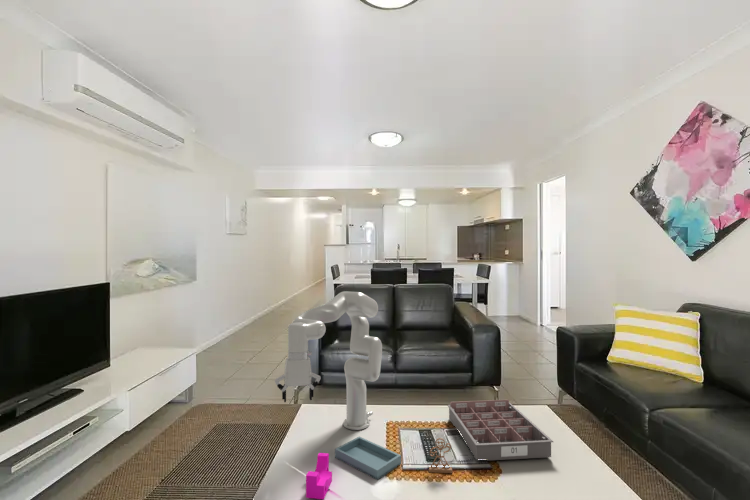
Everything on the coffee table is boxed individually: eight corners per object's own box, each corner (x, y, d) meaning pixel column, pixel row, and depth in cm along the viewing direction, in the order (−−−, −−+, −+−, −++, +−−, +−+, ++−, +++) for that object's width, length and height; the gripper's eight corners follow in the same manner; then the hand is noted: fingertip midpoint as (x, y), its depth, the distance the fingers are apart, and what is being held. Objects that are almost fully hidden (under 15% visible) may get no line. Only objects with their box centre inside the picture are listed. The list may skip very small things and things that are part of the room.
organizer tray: (475, 465, 150) (475, 440, 150) (447, 420, 190) (447, 400, 190) (554, 461, 153) (554, 436, 153) (509, 418, 193) (509, 398, 193)
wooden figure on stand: (428, 472, 145) (428, 440, 145) (428, 466, 149) (428, 435, 149) (452, 473, 145) (452, 441, 145) (451, 467, 149) (451, 436, 149)
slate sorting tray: (359, 444, 166) (359, 436, 166) (401, 464, 151) (401, 455, 151) (335, 457, 156) (335, 448, 156) (377, 480, 140) (377, 470, 140)
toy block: (323, 499, 130) (323, 477, 130) (306, 497, 131) (306, 475, 131) (335, 473, 145) (335, 454, 145) (319, 472, 146) (319, 452, 146)
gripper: (319, 351, 153) (319, 394, 153) (275, 354, 150) (274, 398, 149) (321, 356, 146) (321, 401, 146) (274, 359, 142) (274, 405, 142)
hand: (297, 399), depth 148 cm, fingers open, 9 cm apart
